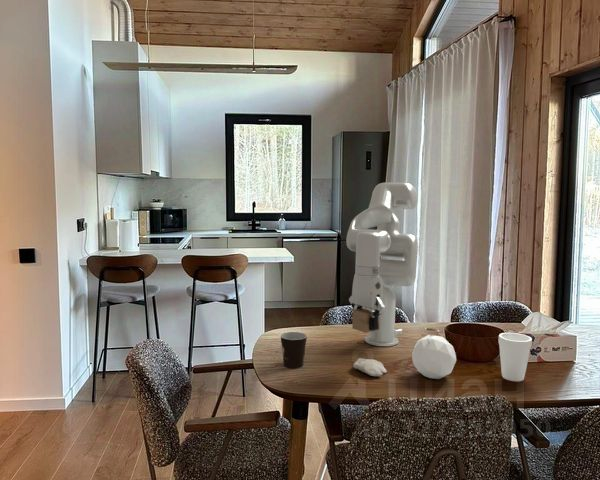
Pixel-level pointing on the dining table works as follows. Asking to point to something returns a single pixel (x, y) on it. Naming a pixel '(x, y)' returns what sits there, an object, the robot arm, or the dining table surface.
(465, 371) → the dining table surface
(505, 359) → the foam cup
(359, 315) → the walnut block
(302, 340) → the coffee mug
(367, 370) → the decorative stone
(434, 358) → the geodesic sphere
